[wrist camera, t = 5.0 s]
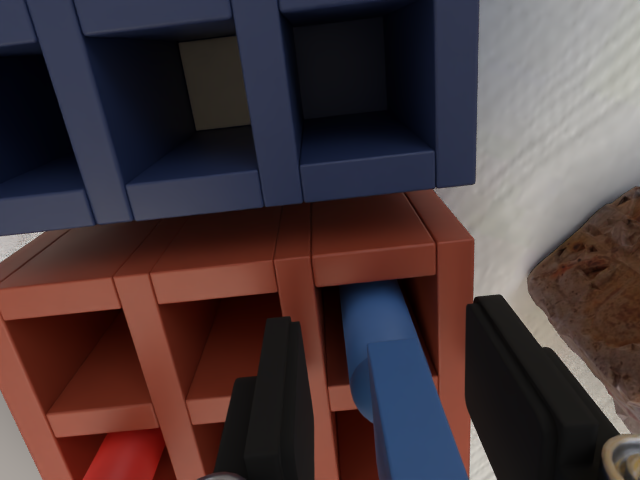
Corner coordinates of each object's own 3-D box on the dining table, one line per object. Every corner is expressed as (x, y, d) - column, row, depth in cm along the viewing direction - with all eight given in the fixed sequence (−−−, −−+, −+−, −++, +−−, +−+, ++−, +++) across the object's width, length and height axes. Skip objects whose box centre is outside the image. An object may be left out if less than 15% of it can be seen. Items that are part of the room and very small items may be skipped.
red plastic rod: (171, 367, 21) (-43, 854, 8) (153, 305, 19) (-130, 767, 7) (210, 363, 21) (57, 847, 8) (195, 301, 19) (-13, 758, 7)
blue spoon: (336, 271, 19) (384, 701, 6) (328, 197, 18) (369, 551, 5) (380, 266, 19) (513, 691, 6) (375, 191, 18) (528, 537, 5)
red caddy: (148, 373, 22) (67, 535, 15) (93, 197, 18) (-47, 293, 11) (416, 346, 21) (469, 498, 14) (410, 162, 18) (475, 238, 11)
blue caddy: (83, 165, 18) (-70, 244, 11) (-1, -106, 15) (-306, -255, 7) (408, 128, 18) (476, 185, 10) (399, -157, 14) (488, -367, 7)
